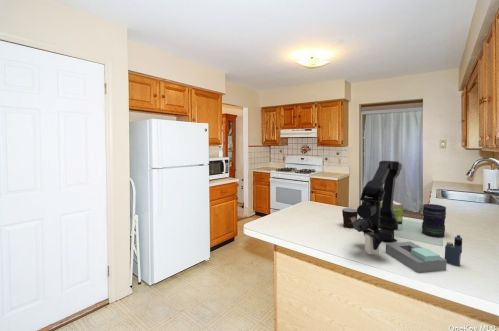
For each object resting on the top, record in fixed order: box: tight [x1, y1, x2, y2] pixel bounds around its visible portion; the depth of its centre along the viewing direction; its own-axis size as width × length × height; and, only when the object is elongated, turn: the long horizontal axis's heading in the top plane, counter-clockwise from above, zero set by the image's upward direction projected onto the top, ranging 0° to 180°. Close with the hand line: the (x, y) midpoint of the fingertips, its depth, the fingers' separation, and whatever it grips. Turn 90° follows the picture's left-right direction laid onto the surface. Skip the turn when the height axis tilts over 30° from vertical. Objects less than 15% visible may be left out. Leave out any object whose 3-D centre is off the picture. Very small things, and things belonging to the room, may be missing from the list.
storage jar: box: [421, 203, 447, 239], centre depth 131 cm, size 10×10×15 cm
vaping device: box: [444, 234, 463, 267], centre depth 100 cm, size 3×5×12 cm, turn 36°
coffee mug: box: [341, 207, 362, 230], centre depth 145 cm, size 12×9×10 cm
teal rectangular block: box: [411, 247, 441, 262], centre depth 98 cm, size 7×6×2 cm
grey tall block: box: [364, 232, 380, 255], centre depth 112 cm, size 4×4×9 cm
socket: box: [385, 241, 448, 274], centre depth 104 cm, size 18×12×4 cm, turn 8°
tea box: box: [380, 200, 404, 231], centre depth 145 cm, size 15×10×15 cm, turn 179°
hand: (371, 247), depth 112 cm, fingers open, 4 cm apart
